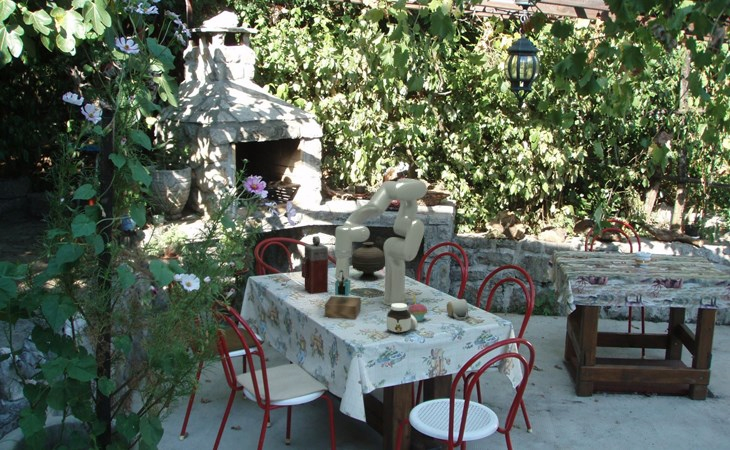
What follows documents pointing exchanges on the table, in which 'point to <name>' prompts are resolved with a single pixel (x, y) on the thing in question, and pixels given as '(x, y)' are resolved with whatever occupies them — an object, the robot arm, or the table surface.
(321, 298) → the table surface
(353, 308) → the walnut base
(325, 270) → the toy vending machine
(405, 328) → the spread jar
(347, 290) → the teal block
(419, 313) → the cupcake
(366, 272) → the pot
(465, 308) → the ceramic mug
